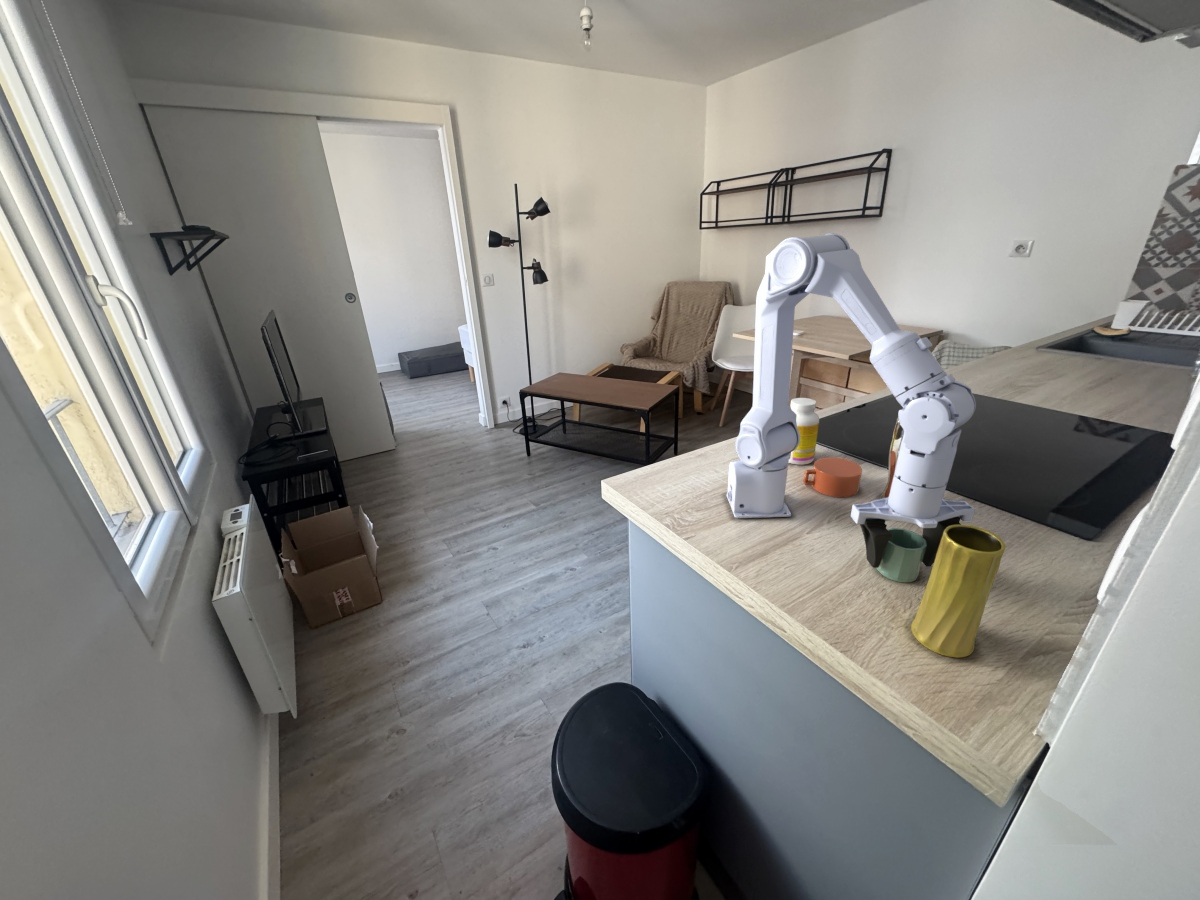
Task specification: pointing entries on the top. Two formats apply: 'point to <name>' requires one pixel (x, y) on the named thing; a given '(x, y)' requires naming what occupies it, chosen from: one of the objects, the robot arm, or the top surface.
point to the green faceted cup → (902, 555)
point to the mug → (834, 477)
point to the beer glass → (893, 456)
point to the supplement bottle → (805, 430)
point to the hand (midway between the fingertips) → (898, 562)
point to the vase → (958, 590)
